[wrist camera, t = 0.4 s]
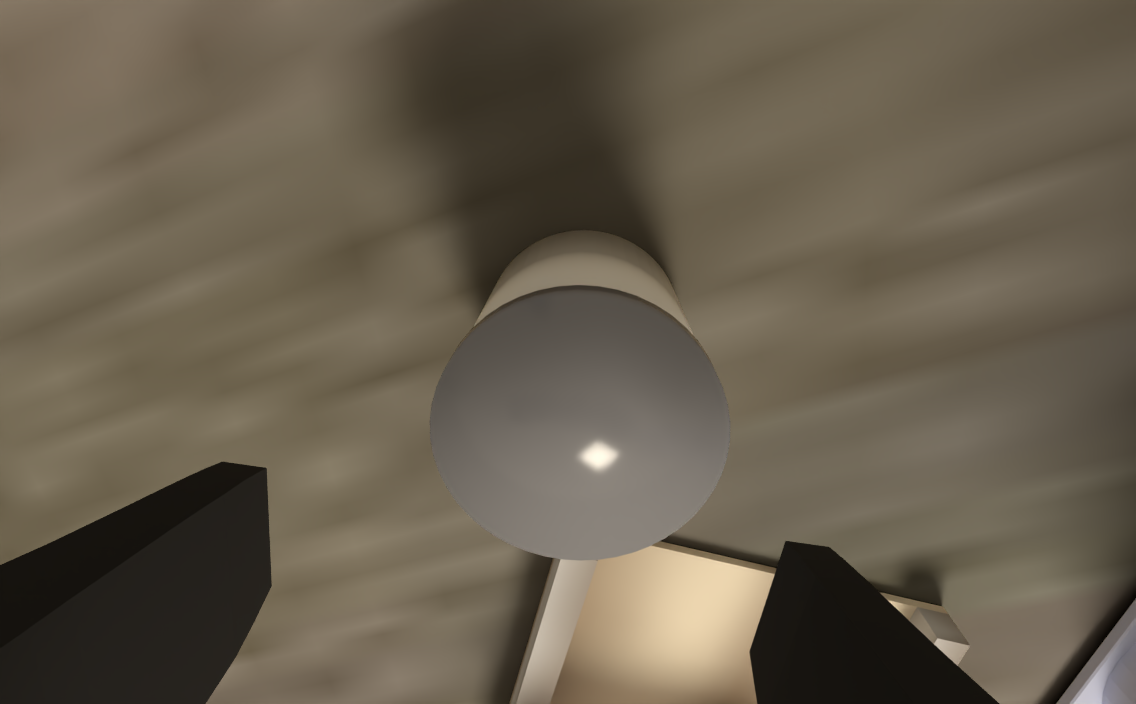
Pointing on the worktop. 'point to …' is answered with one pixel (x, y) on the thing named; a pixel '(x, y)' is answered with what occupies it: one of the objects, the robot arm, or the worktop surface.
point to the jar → (580, 404)
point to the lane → (663, 630)
